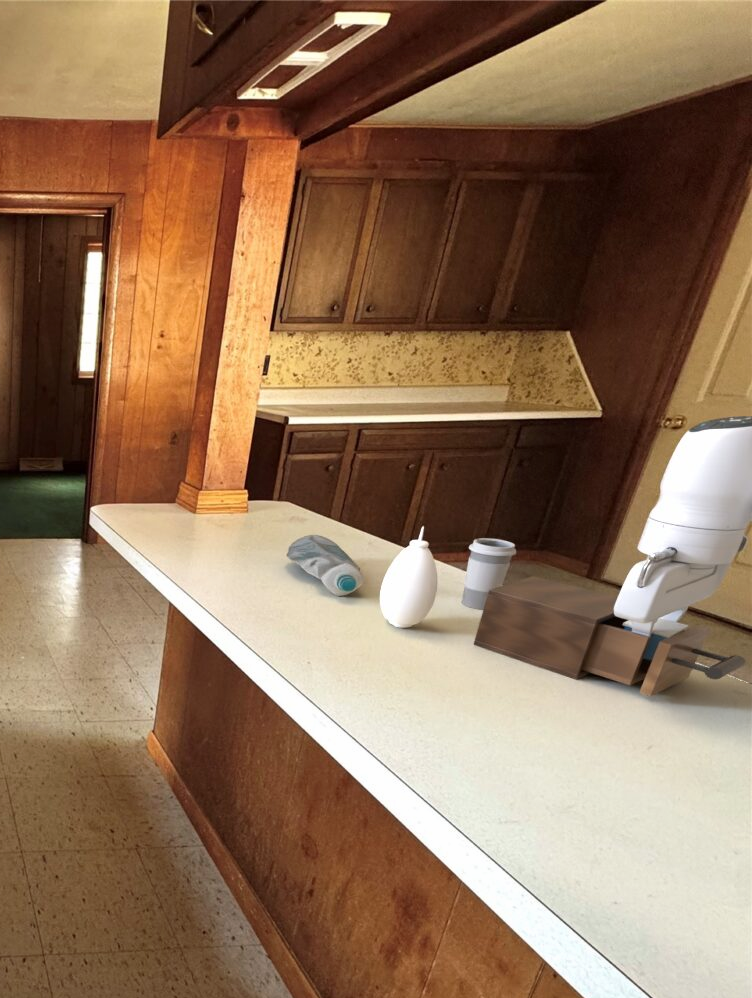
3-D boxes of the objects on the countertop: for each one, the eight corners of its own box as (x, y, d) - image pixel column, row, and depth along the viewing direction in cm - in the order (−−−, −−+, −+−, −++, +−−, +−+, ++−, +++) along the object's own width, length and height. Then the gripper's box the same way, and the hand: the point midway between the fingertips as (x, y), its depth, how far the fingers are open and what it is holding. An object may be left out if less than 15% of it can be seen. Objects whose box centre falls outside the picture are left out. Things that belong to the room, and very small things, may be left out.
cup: (467, 595, 127) (483, 535, 122) (507, 606, 121) (526, 544, 117) (446, 603, 124) (462, 541, 119) (486, 614, 118) (505, 550, 114)
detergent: (278, 560, 149) (303, 598, 126) (285, 529, 146) (312, 562, 124) (341, 567, 146) (379, 608, 124) (350, 536, 143) (390, 572, 121)
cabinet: (619, 660, 101) (641, 602, 97) (575, 679, 96) (597, 619, 92) (516, 628, 112) (533, 575, 109) (473, 644, 107) (488, 589, 104)
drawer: (737, 691, 90) (761, 639, 87) (699, 713, 85) (723, 659, 82) (580, 644, 104) (596, 598, 101) (541, 660, 100) (556, 612, 97)
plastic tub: (678, 653, 92) (689, 625, 91) (660, 664, 91) (671, 635, 89) (632, 640, 97) (641, 613, 95) (614, 650, 95) (623, 622, 93)
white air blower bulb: (427, 638, 110) (453, 534, 103) (372, 629, 114) (394, 529, 107) (426, 622, 116) (451, 523, 109) (374, 614, 120) (395, 518, 113)
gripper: (683, 562, 81) (644, 662, 86) (754, 536, 89) (714, 630, 94) (617, 549, 86) (584, 644, 91) (689, 526, 94) (655, 615, 99)
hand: (650, 637), depth 92 cm, fingers open, 5 cm apart
